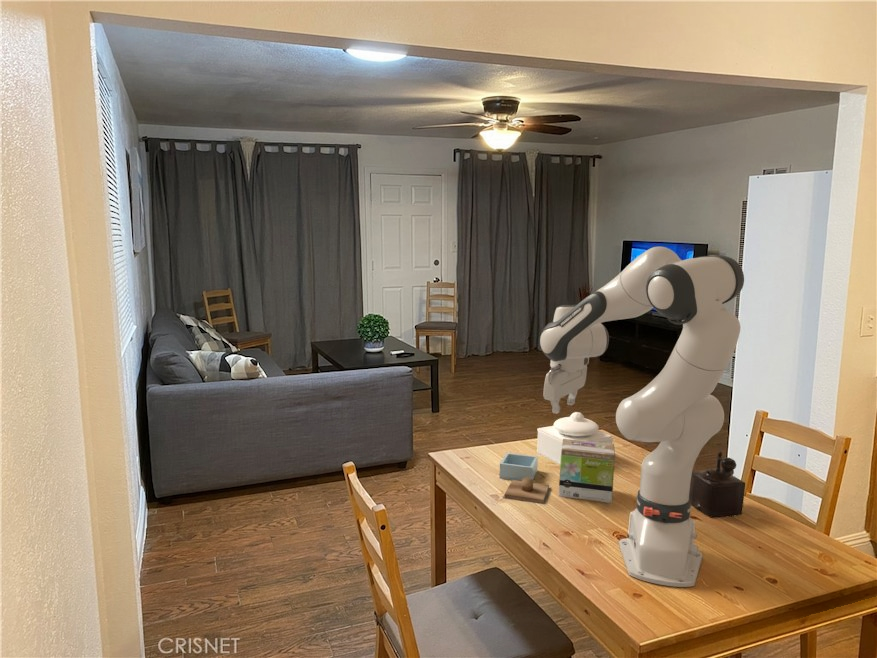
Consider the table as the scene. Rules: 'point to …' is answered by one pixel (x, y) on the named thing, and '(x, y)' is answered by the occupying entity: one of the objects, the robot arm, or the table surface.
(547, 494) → the mat
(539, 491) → the lid
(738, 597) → the table surface
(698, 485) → the coffee grinder
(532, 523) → the table surface
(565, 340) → the robot arm
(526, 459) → the dish
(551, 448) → the white lidded container
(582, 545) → the table surface
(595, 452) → the tea box
